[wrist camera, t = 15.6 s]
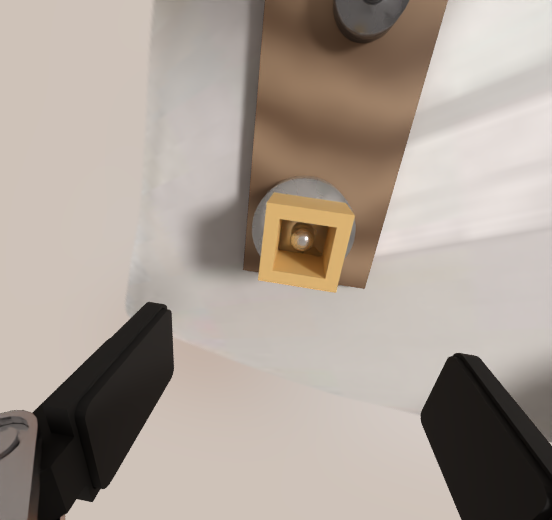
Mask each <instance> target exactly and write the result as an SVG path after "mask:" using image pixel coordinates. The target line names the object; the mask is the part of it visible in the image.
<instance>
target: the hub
mask: <svg viewBox="0 0 552 520" xmlns="http://www.w3.org/2000/svg"><path fill="white" fill-rule="evenodd" d="M274 192H275V193H282V194H289V195H296V196H302V197H309V198H316V199H323V200H330V201H337V202H344V203H346V204H347V205H348V207H349V208H350V209H351V207H350V205H349V203H348V202H347V200H346V199H345V198H344V196H343V195H342V194H341V192H340V191H339V190H338V189H337V188H336V187H335V186H334V185H332V184H331V183H329V182H328V181H326V180H324V179H321V178H318V177H314V176H307V175H302V176H294V177H290V178H288V179H285V180H283V181H281V182H279V183H278V184H276V185H275V186H274V187H273V188H272V189H271V190H270V191H269V192H268V193H267V194H266V195H265V197H264V198H263V199H262V200H261V202H260V203H259V205H258V207H257V209H256V211H255V214H254V217H253V222H252V237H253V241H254V245H255V247H256V250H257V252H258V253H259V255H260V257H261V250H262V241H263V232H264V223H265V214H266V205H267V201H268V200H269V199H270V197H271V196H272V194H273V193H274ZM351 211H352V209H351ZM352 212H353V211H352ZM327 231H328V226H323V225H317V224H310V223H303V222H297V221H290V220H283V219H282V225H281V232H280V240H279V247H278V250H283V251H290V252H296V253H303V254H309V255H316V256H322V254H323V249H324V245H325V240H326V235H327ZM355 231H356V225H355V218H354V222H353V226H352V230H351V234H350V238H349V242H348V246H347V250H346V254H345V258H346V257H347V255H348V253H349V252H350V250H351V248H352V245H353V242H354V238H355ZM345 258H344V259H345Z"/></svg>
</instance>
